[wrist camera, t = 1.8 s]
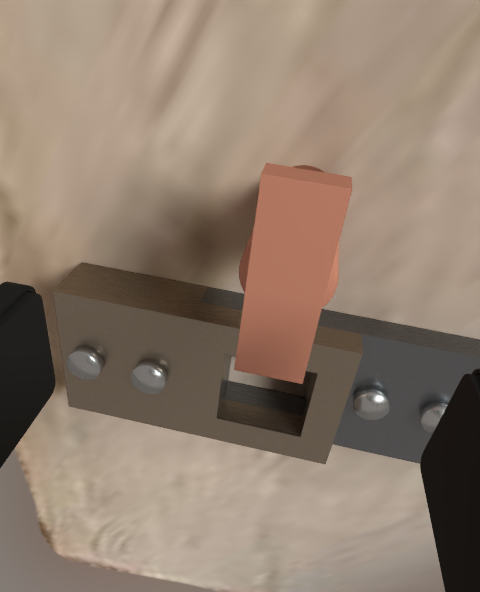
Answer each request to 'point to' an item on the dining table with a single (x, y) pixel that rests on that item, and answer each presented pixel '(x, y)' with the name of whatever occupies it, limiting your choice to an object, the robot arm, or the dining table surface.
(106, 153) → the dining table surface
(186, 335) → the studded slotted plate
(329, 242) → the orange t-shaped block
